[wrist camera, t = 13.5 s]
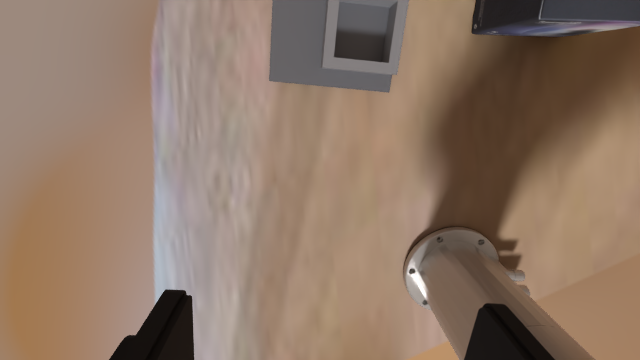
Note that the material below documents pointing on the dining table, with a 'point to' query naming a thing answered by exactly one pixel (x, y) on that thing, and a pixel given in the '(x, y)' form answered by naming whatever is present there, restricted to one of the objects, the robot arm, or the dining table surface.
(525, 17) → the small box
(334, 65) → the panel
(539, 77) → the dining table surface
